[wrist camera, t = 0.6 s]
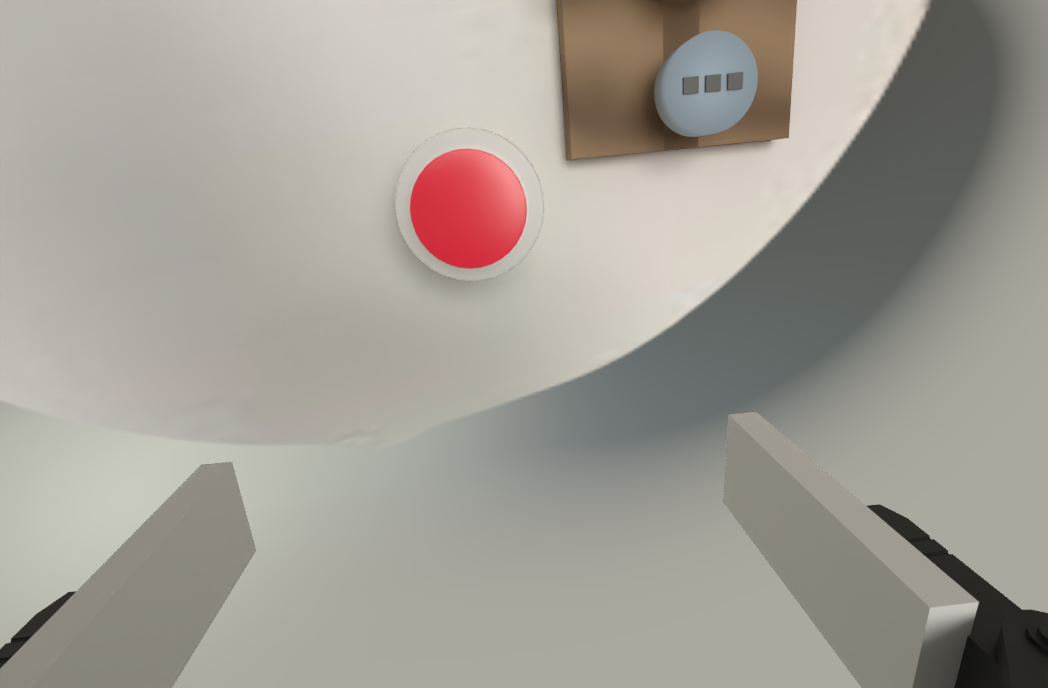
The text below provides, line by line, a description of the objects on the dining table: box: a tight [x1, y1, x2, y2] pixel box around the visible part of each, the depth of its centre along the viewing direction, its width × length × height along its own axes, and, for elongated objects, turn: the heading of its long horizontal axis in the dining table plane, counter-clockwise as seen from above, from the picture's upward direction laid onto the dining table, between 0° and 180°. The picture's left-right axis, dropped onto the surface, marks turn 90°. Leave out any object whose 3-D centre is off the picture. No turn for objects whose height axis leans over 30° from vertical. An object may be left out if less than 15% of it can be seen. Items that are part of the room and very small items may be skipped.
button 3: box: [654, 30, 758, 137], centre depth 29 cm, size 5×5×4 cm
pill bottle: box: [395, 128, 544, 281], centre depth 29 cm, size 8×8×11 cm
